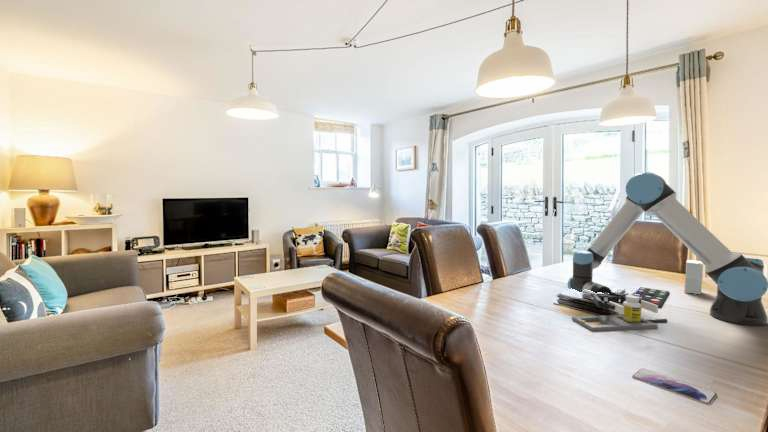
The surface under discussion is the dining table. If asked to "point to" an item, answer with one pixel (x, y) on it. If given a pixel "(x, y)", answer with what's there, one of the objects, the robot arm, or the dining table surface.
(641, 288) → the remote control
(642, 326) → the socket strip
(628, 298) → the supplement bottle
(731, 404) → the dining table surface
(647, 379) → the smartphone
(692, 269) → the skincare box
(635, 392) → the dining table surface
